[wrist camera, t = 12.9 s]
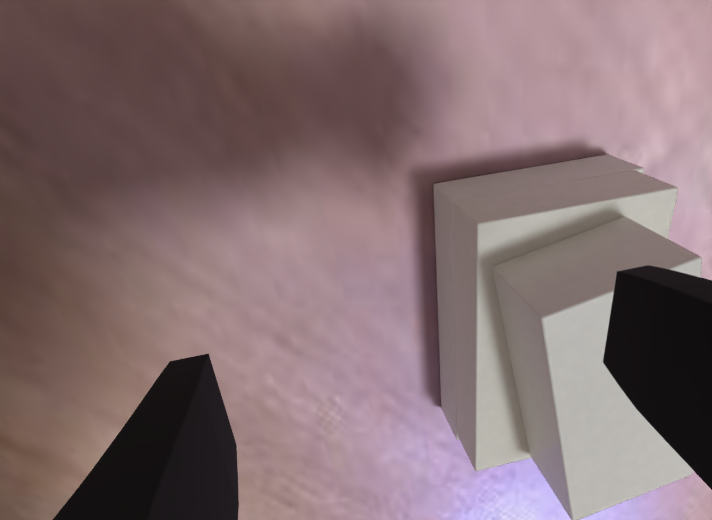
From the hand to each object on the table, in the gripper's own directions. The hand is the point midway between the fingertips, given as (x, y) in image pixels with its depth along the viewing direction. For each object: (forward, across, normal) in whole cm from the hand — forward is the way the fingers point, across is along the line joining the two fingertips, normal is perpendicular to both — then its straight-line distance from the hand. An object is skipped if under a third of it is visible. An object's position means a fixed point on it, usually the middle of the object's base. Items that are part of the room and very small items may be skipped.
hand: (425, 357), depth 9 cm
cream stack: (+10, -7, +6) cm, 14 cm away
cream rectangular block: (+6, -7, +6) cm, 11 cm away
